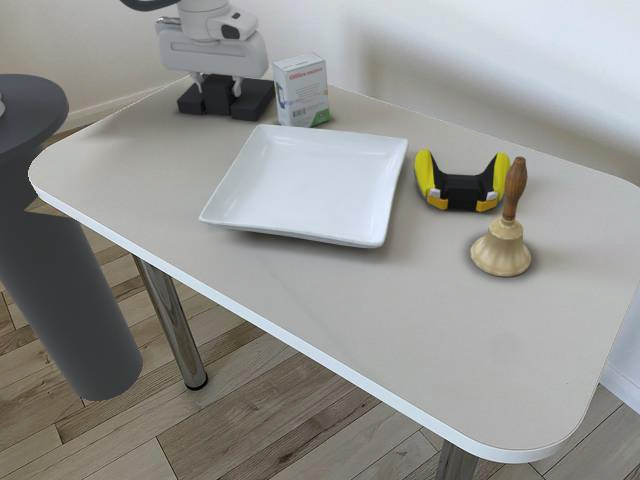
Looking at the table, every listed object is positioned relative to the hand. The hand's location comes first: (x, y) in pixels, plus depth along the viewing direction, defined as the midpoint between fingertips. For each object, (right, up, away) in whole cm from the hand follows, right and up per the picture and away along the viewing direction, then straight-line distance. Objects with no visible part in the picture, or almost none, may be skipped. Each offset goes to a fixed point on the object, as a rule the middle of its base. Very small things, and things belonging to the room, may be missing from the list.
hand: (220, 93), depth 106 cm
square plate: (+19, -22, -18) cm, 34 cm away
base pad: (+1, 0, +4) cm, 4 cm away
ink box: (+16, -6, -2) cm, 17 cm away
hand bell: (+46, -32, -29) cm, 63 cm away
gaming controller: (+42, -22, -19) cm, 51 cm away
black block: (0, -2, +2) cm, 3 cm away
